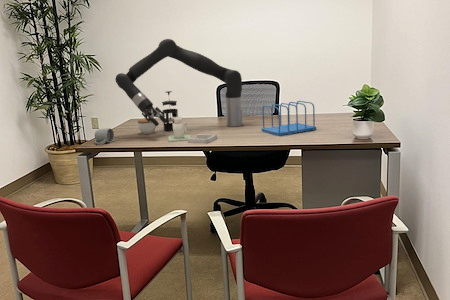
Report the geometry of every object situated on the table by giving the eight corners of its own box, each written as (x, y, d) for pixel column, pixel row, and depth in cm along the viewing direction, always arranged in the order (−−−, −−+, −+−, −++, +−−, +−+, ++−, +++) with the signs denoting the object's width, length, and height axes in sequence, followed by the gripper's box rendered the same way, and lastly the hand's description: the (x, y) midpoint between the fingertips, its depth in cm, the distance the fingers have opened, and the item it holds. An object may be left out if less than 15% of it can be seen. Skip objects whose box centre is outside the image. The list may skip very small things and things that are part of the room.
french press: (174, 131, 262) (172, 92, 257) (160, 131, 265) (157, 92, 260) (182, 127, 273) (180, 90, 268) (168, 127, 276) (166, 90, 271)
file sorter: (297, 126, 263) (297, 99, 259) (316, 130, 248) (316, 102, 244) (261, 131, 252) (260, 104, 248) (279, 136, 237) (278, 107, 233)
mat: (190, 135, 249) (190, 134, 249) (191, 140, 237) (190, 139, 237) (168, 137, 248) (168, 136, 248) (168, 141, 236) (168, 140, 236)
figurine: (170, 138, 241) (169, 118, 239) (176, 136, 247) (174, 116, 244) (184, 139, 238) (182, 118, 235) (189, 136, 243) (188, 116, 241)
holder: (188, 142, 233) (187, 138, 232) (197, 137, 243) (197, 134, 242) (207, 143, 228) (207, 139, 228) (216, 138, 238) (216, 134, 238)
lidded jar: (148, 130, 270) (147, 115, 268) (160, 132, 264) (159, 116, 261) (134, 133, 262) (133, 117, 260) (147, 135, 256) (145, 119, 253)
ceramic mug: (101, 140, 247) (99, 127, 245) (115, 140, 245) (113, 127, 243) (91, 145, 237) (89, 131, 235) (105, 145, 235) (103, 131, 233)
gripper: (138, 99, 238) (159, 121, 237) (153, 96, 251) (172, 117, 249) (131, 109, 242) (151, 130, 240) (145, 105, 254) (164, 126, 253)
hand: (161, 123), depth 245 cm, fingers open, 8 cm apart
